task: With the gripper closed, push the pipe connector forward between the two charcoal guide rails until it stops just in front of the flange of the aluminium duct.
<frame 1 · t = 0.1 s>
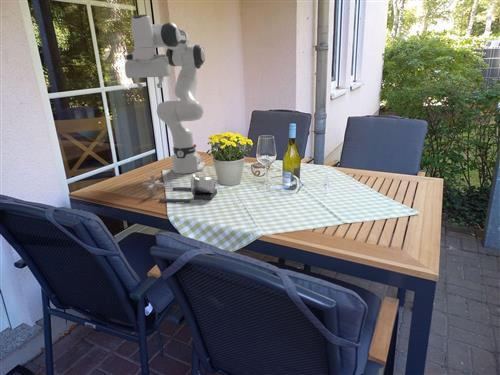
hand: (150, 88, 161), 48 cm above the table, tool pointing down, fingers open, 8 cm apart
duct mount: (181, 195, 166), on the table
pipe connector: (155, 195, 168), on the table
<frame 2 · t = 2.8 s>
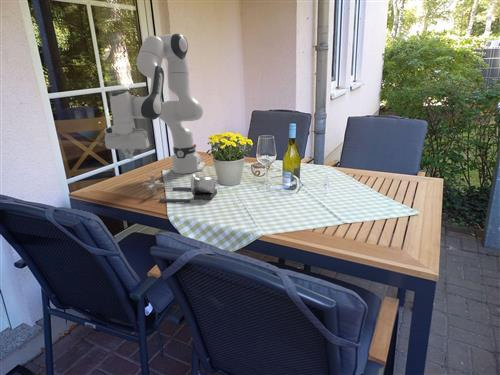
hand: (129, 158, 164), 18 cm above the table, tool pointing down, fingers closed
nothing on the table moved.
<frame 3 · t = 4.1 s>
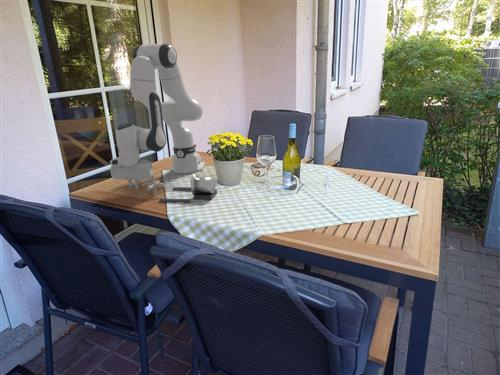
hand: (134, 187, 169), 3 cm above the table, tool pointing down, fingers closed
nothing on the table moved.
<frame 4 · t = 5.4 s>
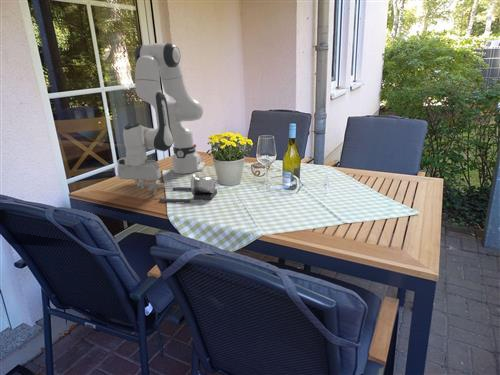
hand: (141, 188, 168), 3 cm above the table, tool pointing down, fingers closed
pipe connector: (155, 195, 168), on the table, touching gripper
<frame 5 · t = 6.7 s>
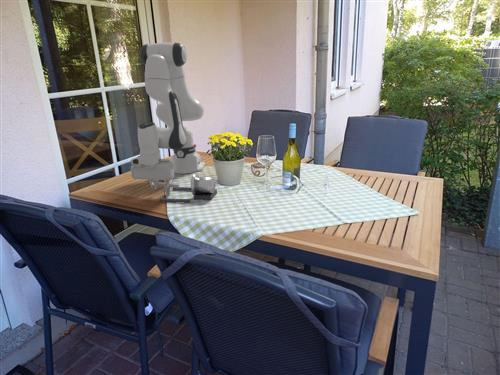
hand: (154, 188, 166), 4 cm above the table, tool pointing down, fingers closed
pipe connector: (168, 195, 167), on the table, touching gripper
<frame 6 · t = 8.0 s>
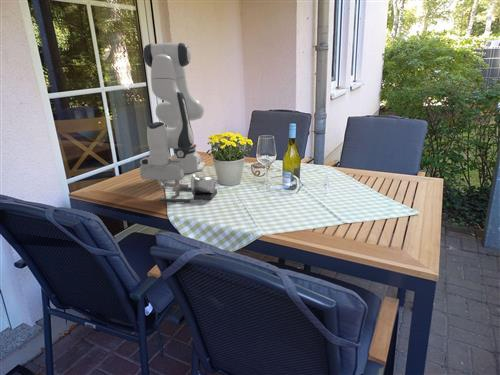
hand: (163, 188, 165), 4 cm above the table, tool pointing down, fingers closed
pipe connector: (177, 195, 166), on the table, touching gripper
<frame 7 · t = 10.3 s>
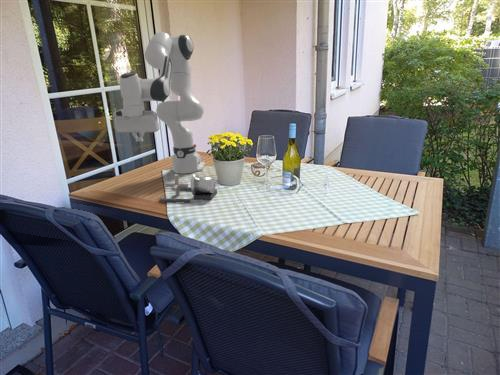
hand: (139, 141, 164), 25 cm above the table, tool pointing down, fingers closed
pipe connector: (177, 195, 166), on the table
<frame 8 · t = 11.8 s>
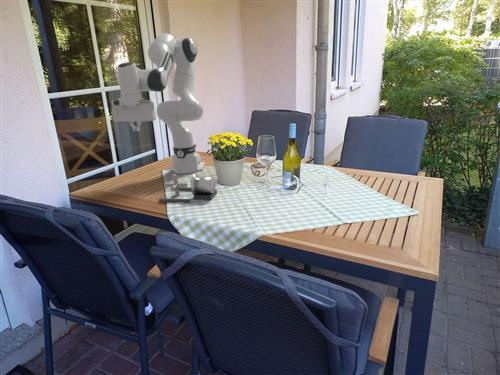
hand: (136, 131, 166), 29 cm above the table, tool pointing down, fingers closed
nothing on the table moved.
at the end: pipe connector inside the target area (2.3 cm from its centre), on the table; pipe connector tilted 2°; pipe connector moved 11.2 cm from its start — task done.
